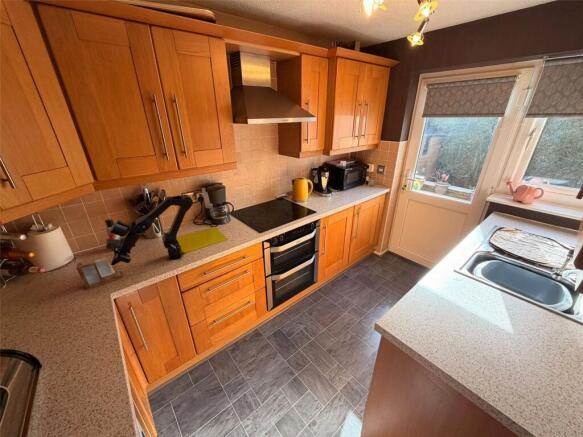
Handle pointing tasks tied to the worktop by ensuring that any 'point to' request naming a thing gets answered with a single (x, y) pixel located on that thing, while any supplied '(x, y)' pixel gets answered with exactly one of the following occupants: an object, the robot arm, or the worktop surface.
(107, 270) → the frame
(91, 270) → the window frame
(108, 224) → the lotion bottle
